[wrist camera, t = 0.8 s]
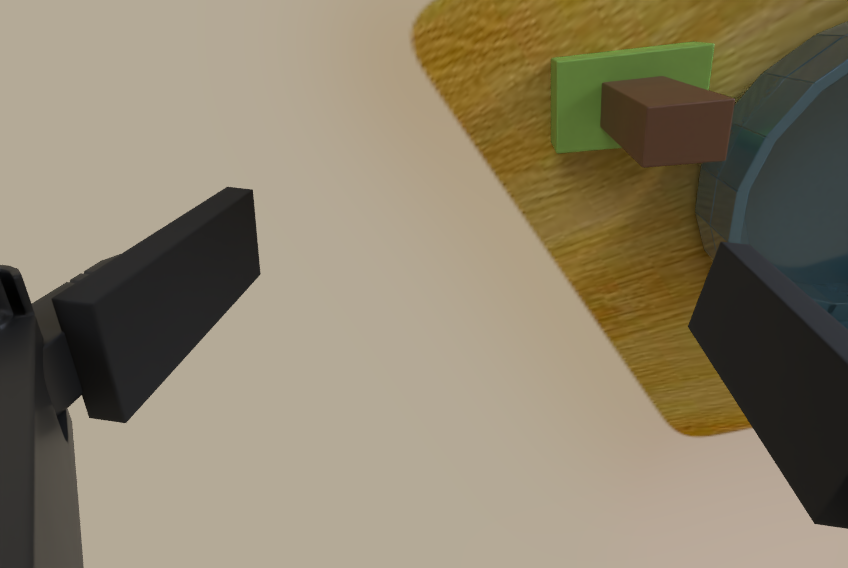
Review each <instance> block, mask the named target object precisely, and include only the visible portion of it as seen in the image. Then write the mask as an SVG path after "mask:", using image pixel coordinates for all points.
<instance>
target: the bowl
mask: <svg viewBox="0 0 848 568" xmlns="http://www.w3.org/2000/svg"><path fill="white" fill-rule="evenodd" d="M695 213H696V218H697V222H698V226H699V230H700V234H701V239H702V243H703V247H704V250H705V252H706V253H707V254H708V256H709V257H710V258H711V260H712V261H713V260H714V257H715V255H716V252H717V250H718V247H719V244H720V242H730V243H739V244H748V245H751V246H752V247H753V248H754V249H755V250H757V251H758V252H759V253H760V254H761V255H762V256H763V257H765V258H766V259H767V260H768V261H769V262H770V263H772V264H773V265H774V266H775V267H776V268H777V269H778V270H780V271H781V272H782V273H783V274H784V275H785V276H787V277H788V278H789V279H790V280H791V281H792V282H793V283H795V284H796V285H797V286H798V287H799V288H800V289H802V290H803V291H804V292H805V293H806V294H807V295H808V296H810V297H811V298H812V299H813V300H814V301H815V302H816V303H818V304H819V305H820V306H821V307H822V308H823V309H825V310H826V311H827V312H828V313H829V314H830V315H831V316H833V317H834V318H835V319H836V320H837V321H838V322H840V323H841V324H842V325H843V326H844V327H845V328H846V329H848V21H847V22H844V23H842V24H839V25H837V26H835V27H832V28H830V29H827V30H825V31H822V32H820V33H818V34H816V35H814V36H813V37H811V38H810V39H808V40H807V41H806V42H804V43H803V44H802V45H800V46H799V47H797V48H796V49H795V50H793V51H792V52H791V53H789V54H788V55H787V56H785V57H784V58H782V59H781V60H780V61H778V62H777V63H776V64H774V65H773V66H771V67H770V68H769V69H767V70H766V71H765V72H763V74H761V75H760V76H759V77H758V78H757V80H756V81H755V82H754V83H753V84H752V86H751V87H750V88H749V89H748V90H747V91H746V93H745V94H744V95H743V96H742V97H741V99H740V100H739V101H738V102H737V103H736V104H735V106H734V111H733V117H732V123H731V130H730V136H729V143H728V149H727V156H726V160H725V161H718V162H706V163H702V165H701V170H700V177H699V185H698V192H697V200H696V207H695Z"/></svg>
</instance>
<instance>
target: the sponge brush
mask: <svg viewBox="0 0 848 568" xmlns="http://www.w3.org/2000/svg"><path fill="white" fill-rule="evenodd" d="M713 53H714V44H713V43H703V42H685V43H677V44H668V45H660V46H651V47H642V48H634V49H625V50H617V51H608V52H600V53H591V54H582V55H574V56H565V57H557V58H552V59H551V143H552V145H553V147H554V149H555V151H556V153H570V152H581V151H593V150H604V149H615V148H623V149H624V150H625V151H626V152H627V153H628V154H629V155H630V156H631V157H632V158H633V159H634V160H635V161H637V162H638V163H639V164H640V165H641V166H642V167H656V166H669V165H681V164H693V163H706V162H718V161H725V160H726V156H727V149H728V143H729V136H730V130H731V123H732V117H733V111H734V104H735V99H734V98H731V97H728V96H725V95H721V94H718V93H715V92H712V91H709V83H710V76H711V68H712V61H713Z"/></svg>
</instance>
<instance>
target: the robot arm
mask: <svg viewBox="0 0 848 568" xmlns="http://www.w3.org/2000/svg"><path fill="white" fill-rule="evenodd" d="M259 275H260V265H259V254H258V243H257V233H256V221H255V210H254V199H253V190H250V189H241V188H232V187H226V188H225V189H223V190H222V191H220V192H218V193H217V194H216V195H214V196H212V197H210V198H209V199H207V200H206V201H204V202H203V203H201V204H200V205H198V206H196V207H195V208H193V209H192V210H190V211H189V212H187V213H185V214H184V215H182V216H181V217H179V218H178V219H176V220H174V221H173V222H171V223H169V224H168V225H166V226H165V227H163V228H162V229H160V230H158V231H157V232H155V233H154V234H152V235H151V236H149V237H147V238H146V239H144V240H143V241H141V242H140V243H138V244H136V245H135V246H133V247H132V248H130V249H129V250H127V251H125V252H124V253H122V254H119V255H116V256H114V257H111V258H108V259H105V260H102V261H100V262H99V263H97V264H95V265H94V266H92V267H90V268H89V269H87V270H86V271H84V274H79V275H78V276H76V277H74V278H73V279H71V280H70V283H69V282H66V283H65V284H63V285H61V286H60V287H58V288H57V289H55V290H53V291H52V292H50V293H49V294H47V295H45V296H44V297H42V298H40V299H39V300H37V301H36V302H34V303H32V304H31V301H30V299H29V296H28V293H27V290H26V287H25V284H24V281H23V278H22V275H21V273H20V272H19V270H18V269H17V268H13V267H11V266H6V265H0V568H83V555H82V544H81V530H80V519H79V518H80V517H79V505H78V493H77V479H76V468H75V454H74V441H73V429H72V421H71V418H70V415H69V412H68V409H67V408H68V407H69V406H70V405H71V404H72V403H73V402H74V401H75V400H76V399H78V398H79V397H80V396H81V395H82V396H83V399H84V403H85V406H86V409H87V412H88V415H89V418H94V419H101V420H108V421H115V422H122V423H126V422H127V421H128V420H129V419H130V418H131V417H132V416H133V415H134V413H135V412H136V411H137V410H138V409H139V408H140V407H141V406H142V405H143V403H144V402H145V401H146V400H147V399H148V398H149V397H150V396H151V395H152V394H153V392H154V391H155V390H156V389H157V388H158V387H159V386H160V385H161V384H162V382H163V381H164V380H165V379H166V378H167V377H168V376H169V375H170V374H171V372H172V371H173V370H174V369H175V368H176V367H177V366H178V365H179V364H180V363H181V362H182V360H183V359H184V358H185V357H186V356H187V355H188V354H189V353H190V352H191V350H192V349H193V348H194V347H195V346H196V345H197V344H198V343H199V341H200V340H201V339H202V338H203V337H204V336H205V335H206V334H207V333H208V332H209V331H210V329H211V328H212V327H213V326H214V325H215V324H216V323H217V322H218V321H219V319H220V318H221V317H222V316H223V315H224V314H225V313H226V312H227V311H228V310H229V308H230V307H231V306H232V305H233V304H234V303H235V302H236V301H237V300H238V299H239V297H240V296H241V295H242V294H243V293H244V292H245V291H246V290H247V289H248V287H249V286H250V285H251V284H252V283H253V282H254V281H255V280H256V279H257V278H258V276H259ZM688 328H689V329H690V331H691V332H692V334H693V335H694V337H695V338H696V340H697V342H698V343H699V345H700V346H701V348H702V349H703V351H704V352H705V354H706V356H707V357H708V359H709V360H710V362H711V363H712V365H713V366H714V368H715V370H716V371H717V373H718V374H719V376H720V377H721V379H722V380H723V382H724V384H725V385H726V387H727V388H728V390H729V391H730V393H731V394H732V396H733V398H734V399H735V401H736V402H737V404H738V405H739V407H740V408H741V410H742V412H743V413H744V415H745V416H746V418H747V419H748V421H749V422H750V424H751V426H752V427H753V429H754V430H755V432H756V433H757V435H758V436H759V438H760V439H761V441H762V443H763V444H764V446H765V447H766V449H767V450H768V452H769V454H770V455H771V457H772V458H773V460H774V461H775V463H776V464H777V466H778V467H779V469H780V471H781V472H782V474H783V475H784V477H785V478H786V480H787V481H788V483H789V485H790V486H791V488H792V489H793V491H794V492H795V494H796V496H797V497H798V499H799V500H800V502H801V503H802V505H803V506H804V508H805V510H806V511H807V513H808V514H809V516H810V517H811V518H812V520H813V522H814V524H820V525H827V526H833V527H841V528H847V529H848V329H846V328H845V327H844V326H843V325H842V324H841V323H840V322H838V321H837V320H836V319H835V318H834V317H833V316H831V315H830V314H829V313H828V312H827V311H826V310H825V309H823V308H822V307H821V306H820V305H819V304H818V303H816V302H815V301H814V300H813V299H812V298H811V297H810V296H808V295H807V294H806V293H805V292H804V291H803V290H802V289H800V288H799V287H798V286H797V285H796V284H795V283H793V282H792V281H791V280H790V279H789V278H788V277H787V276H785V275H784V274H783V273H782V272H781V271H780V270H778V269H777V268H776V267H775V266H774V265H773V264H772V263H770V262H769V261H768V260H767V259H766V258H765V257H763V256H762V255H761V254H760V253H759V252H758V251H757V250H755V249H754V248H753V247H752V246H751V245H748V244H739V243H730V242H720V244H719V247H718V250H717V252H716V255H715V257H714V260H713V263H712V265H711V268H710V270H709V273H708V276H707V278H706V281H705V283H704V286H703V289H702V291H701V294H700V296H699V299H698V302H697V304H696V307H695V309H694V312H693V315H692V317H691V320H690V322H689V325H688Z"/></svg>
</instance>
